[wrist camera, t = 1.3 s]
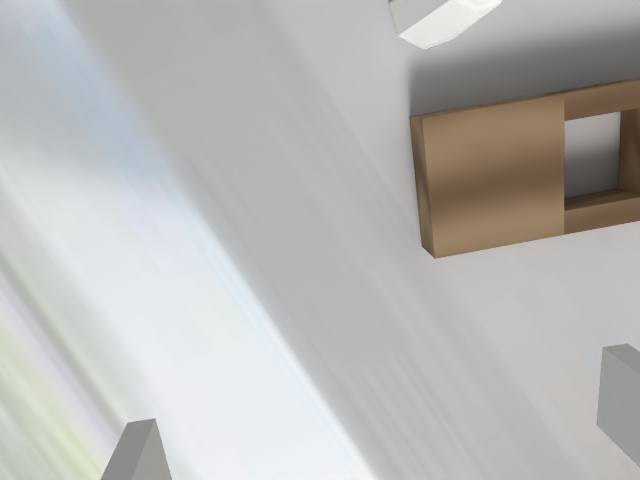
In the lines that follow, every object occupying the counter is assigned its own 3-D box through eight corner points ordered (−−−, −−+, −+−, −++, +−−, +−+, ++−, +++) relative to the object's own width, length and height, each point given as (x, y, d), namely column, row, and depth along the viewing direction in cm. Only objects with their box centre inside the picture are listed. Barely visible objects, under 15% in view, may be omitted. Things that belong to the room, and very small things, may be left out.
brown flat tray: (409, 117, 32) (423, 118, 29) (696, 67, 33) (739, 63, 30) (422, 246, 35) (435, 259, 32) (685, 197, 36) (723, 206, 33)
